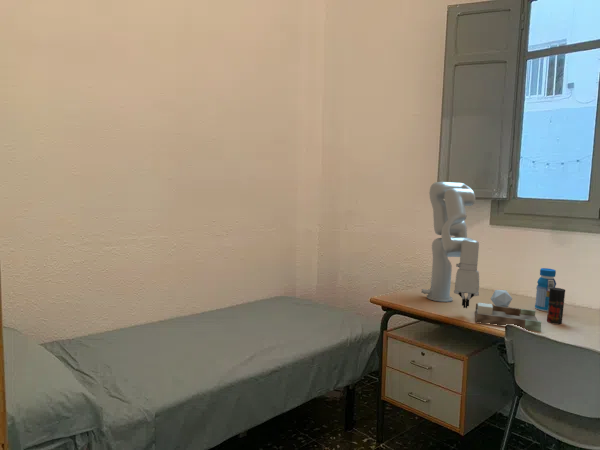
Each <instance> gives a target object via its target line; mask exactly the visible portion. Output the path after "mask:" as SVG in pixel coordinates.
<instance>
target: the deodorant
mask: <svg viewBox="0 0 600 450" xmlns="http://www.w3.org/2000/svg"><path fill="white" fill-rule="evenodd" d="M565 297H566V289H564V288H560V287H555V288H550V294H549V304H548V312H547V316H546V322H547V323H549V324H554V325H561V324H562V323H563V318H564V317H563V316H564V315H563V314H564V305H565Z"/></svg>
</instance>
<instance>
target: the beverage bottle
mask: <svg viewBox="0 0 600 450" xmlns="http://www.w3.org/2000/svg"><path fill="white" fill-rule="evenodd" d="M556 272H557V271H556V269H553V268H549V267H547V268H546V267H541V268H540V269H539V278H538V279H537V282H536V283H537V285H536V294H535V304H534V308H535V310H538V311H540V312H541V311H542V312H546V313H548V304H549V294H550V288H556V287H557V282H556V279H555V278H556V275H557V274H556Z"/></svg>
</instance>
